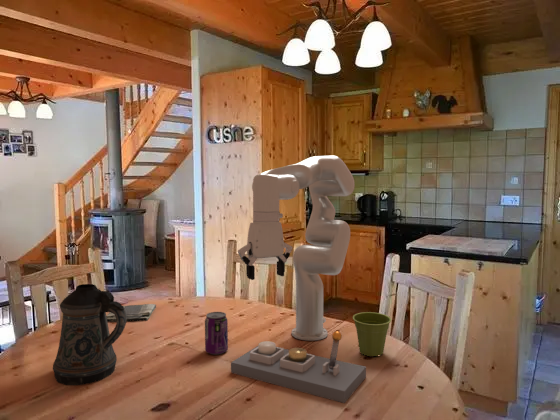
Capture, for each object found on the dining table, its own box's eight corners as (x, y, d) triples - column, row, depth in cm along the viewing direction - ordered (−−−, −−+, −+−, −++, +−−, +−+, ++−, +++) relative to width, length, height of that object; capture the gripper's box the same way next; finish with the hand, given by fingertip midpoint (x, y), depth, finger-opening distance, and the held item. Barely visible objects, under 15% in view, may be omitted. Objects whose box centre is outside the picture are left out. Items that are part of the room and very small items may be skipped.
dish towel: (113, 310, 185) (113, 302, 185) (157, 308, 187) (156, 301, 187) (100, 324, 166) (100, 316, 166) (148, 322, 168) (148, 314, 168)
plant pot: (344, 353, 137) (345, 318, 136) (365, 343, 145) (365, 309, 145) (378, 364, 129) (378, 327, 128) (397, 352, 137) (398, 317, 137)
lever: (328, 368, 119) (334, 331, 122) (337, 370, 117) (343, 332, 120) (325, 368, 116) (331, 329, 120) (334, 370, 115) (340, 331, 118)
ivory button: (264, 346, 130) (264, 340, 130) (278, 349, 127) (278, 343, 127) (255, 352, 126) (255, 345, 125) (269, 355, 123) (269, 349, 123)
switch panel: (261, 353, 137) (261, 337, 137) (365, 377, 120) (366, 359, 120) (231, 372, 123) (230, 355, 123) (344, 403, 106) (344, 383, 106)
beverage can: (223, 357, 134) (223, 318, 133) (201, 355, 136) (201, 317, 135) (230, 348, 141) (230, 311, 140) (210, 346, 143) (209, 310, 142)
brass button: (293, 353, 125) (293, 346, 125) (309, 356, 122) (309, 349, 122) (285, 359, 121) (285, 352, 120) (301, 363, 118) (301, 356, 118)
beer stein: (57, 365, 129) (53, 281, 127) (126, 355, 136) (124, 276, 134) (49, 390, 113) (45, 295, 111) (128, 378, 120) (125, 288, 118)
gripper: (285, 216, 132) (284, 272, 133) (232, 218, 123) (232, 277, 124) (298, 217, 126) (298, 276, 127) (244, 219, 117) (244, 283, 118)
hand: (265, 277), depth 126 cm, fingers open, 9 cm apart
